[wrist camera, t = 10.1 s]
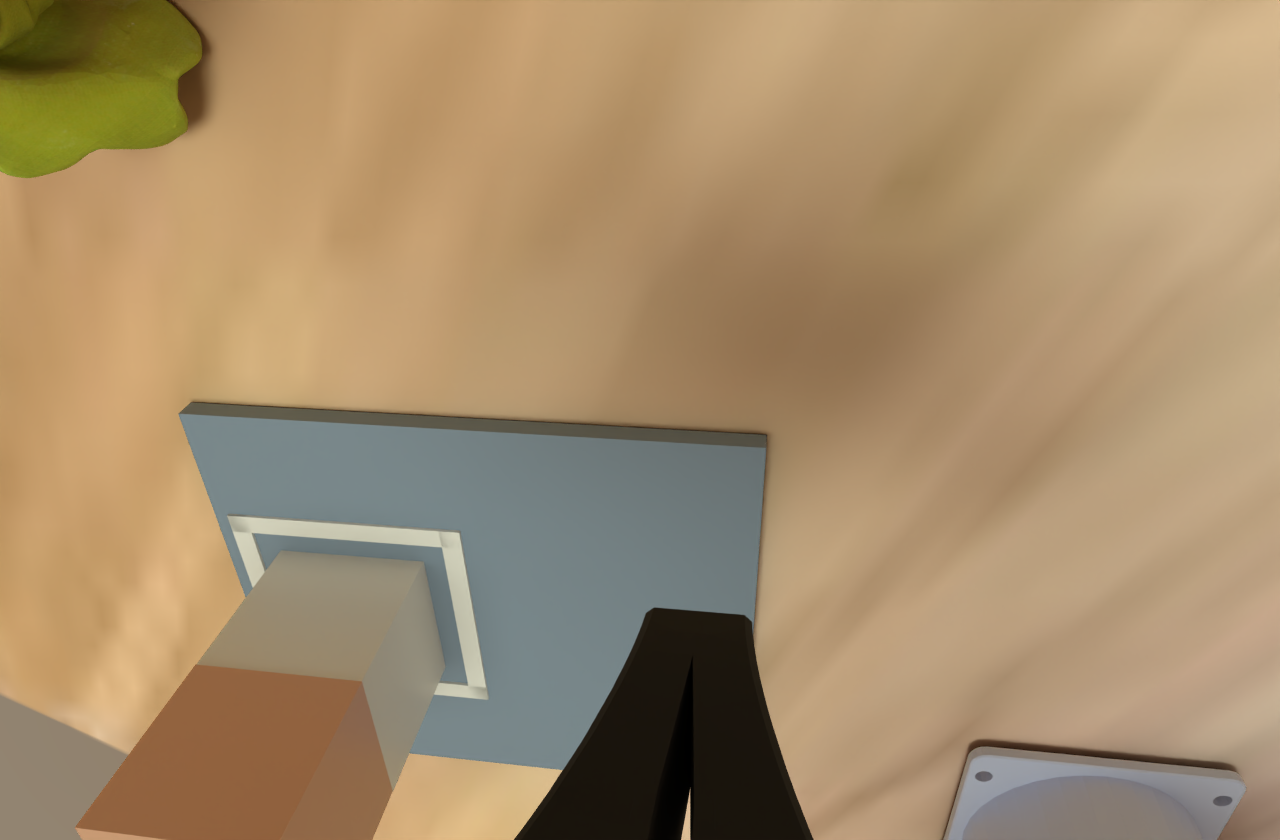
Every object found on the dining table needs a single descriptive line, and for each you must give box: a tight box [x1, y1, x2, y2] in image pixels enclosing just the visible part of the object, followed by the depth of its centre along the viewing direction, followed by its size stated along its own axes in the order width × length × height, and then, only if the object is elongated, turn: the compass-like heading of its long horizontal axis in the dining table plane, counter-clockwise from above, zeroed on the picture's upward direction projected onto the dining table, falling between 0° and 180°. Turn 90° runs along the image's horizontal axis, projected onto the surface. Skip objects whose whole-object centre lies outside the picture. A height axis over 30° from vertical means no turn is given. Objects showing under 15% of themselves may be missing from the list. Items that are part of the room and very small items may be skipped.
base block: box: [196, 550, 446, 790], centre depth 25 cm, size 4×4×4 cm
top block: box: [75, 665, 393, 840], centre depth 21 cm, size 4×4×4 cm
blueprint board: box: [179, 403, 767, 770], centre depth 26 cm, size 14×16×1 cm
